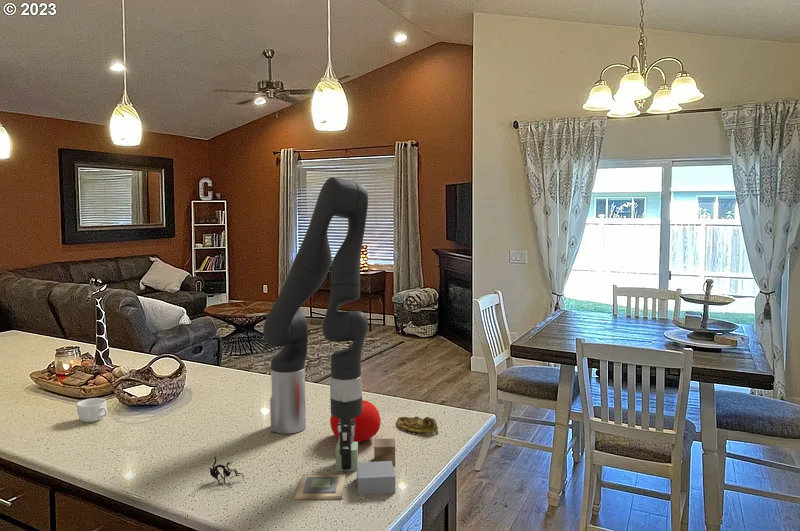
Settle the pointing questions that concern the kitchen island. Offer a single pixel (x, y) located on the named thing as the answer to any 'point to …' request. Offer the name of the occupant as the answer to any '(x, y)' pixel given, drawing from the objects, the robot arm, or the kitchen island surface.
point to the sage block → (353, 457)
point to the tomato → (361, 423)
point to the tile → (321, 487)
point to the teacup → (92, 409)
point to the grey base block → (375, 477)
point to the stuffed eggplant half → (418, 425)
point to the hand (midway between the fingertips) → (347, 463)
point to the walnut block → (384, 450)
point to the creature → (225, 471)
